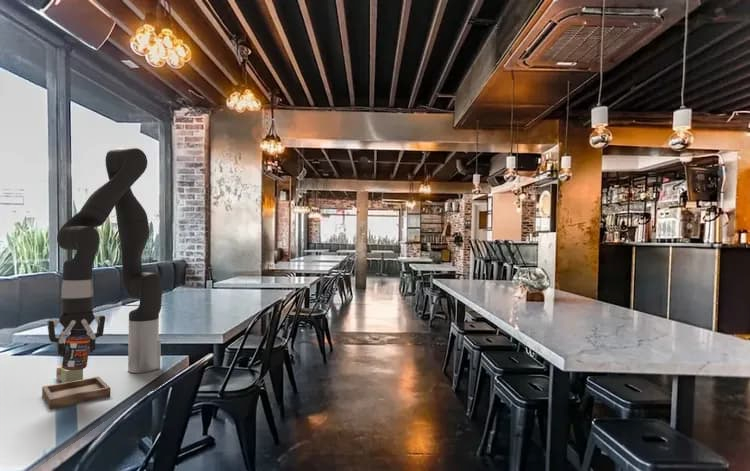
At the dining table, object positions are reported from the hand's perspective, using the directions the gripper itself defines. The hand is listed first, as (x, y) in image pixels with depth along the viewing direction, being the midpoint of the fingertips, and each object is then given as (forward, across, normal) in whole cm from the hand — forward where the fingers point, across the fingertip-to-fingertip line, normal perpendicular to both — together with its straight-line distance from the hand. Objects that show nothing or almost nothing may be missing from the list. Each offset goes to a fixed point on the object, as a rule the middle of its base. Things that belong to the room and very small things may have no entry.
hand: (76, 354), depth 127 cm
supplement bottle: (+4, 0, 0) cm, 4 cm away
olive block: (+8, -2, -15) cm, 17 cm away
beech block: (+12, -1, -22) cm, 25 cm away
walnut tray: (+12, 0, 0) cm, 12 cm away
